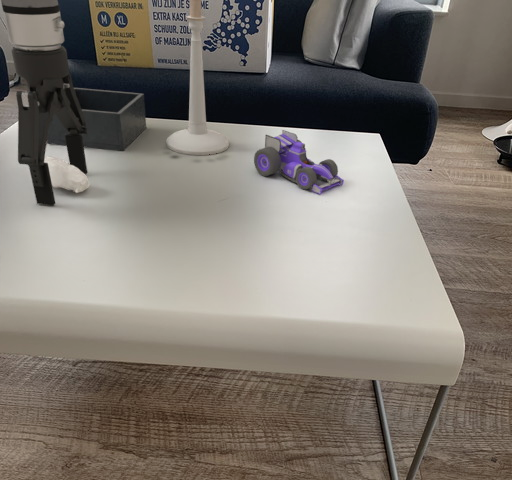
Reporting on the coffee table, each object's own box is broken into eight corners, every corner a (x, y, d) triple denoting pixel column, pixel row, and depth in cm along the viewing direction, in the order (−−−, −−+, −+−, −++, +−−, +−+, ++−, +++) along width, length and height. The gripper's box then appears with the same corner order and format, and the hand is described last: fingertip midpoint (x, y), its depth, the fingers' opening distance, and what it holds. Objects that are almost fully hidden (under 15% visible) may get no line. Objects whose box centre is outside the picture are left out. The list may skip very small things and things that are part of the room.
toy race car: (315, 197, 94) (319, 159, 90) (252, 172, 102) (254, 136, 98) (347, 183, 99) (353, 147, 95) (286, 160, 107) (289, 126, 103)
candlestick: (233, 137, 117) (237, -31, 98) (222, 158, 107) (224, -26, 88) (175, 132, 118) (168, -36, 99) (158, 151, 108) (147, -31, 89)
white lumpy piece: (29, 199, 91) (80, 193, 87) (17, 156, 88) (69, 149, 85) (47, 193, 95) (97, 188, 92) (36, 152, 92) (86, 145, 89)
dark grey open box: (47, 143, 108) (40, 106, 104) (77, 121, 121) (72, 87, 116) (123, 151, 107) (119, 113, 103) (146, 127, 119) (143, 93, 115)
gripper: (22, 65, 68) (54, 221, 81) (94, 33, 88) (110, 163, 101) (-34, 60, 69) (6, 216, 82) (50, 30, 88) (71, 160, 101)
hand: (63, 187), depth 91 cm, fingers open, 13 cm apart
